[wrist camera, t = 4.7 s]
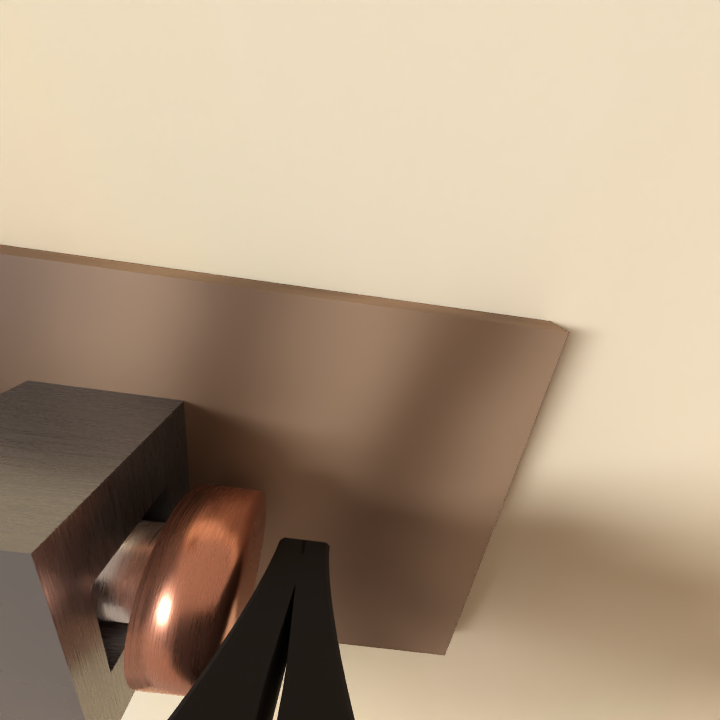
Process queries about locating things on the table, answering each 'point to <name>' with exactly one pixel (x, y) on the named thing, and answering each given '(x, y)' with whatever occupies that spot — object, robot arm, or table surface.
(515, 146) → the table surface
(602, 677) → the table surface
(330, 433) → the base plate
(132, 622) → the shaft
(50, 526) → the bearing housing
